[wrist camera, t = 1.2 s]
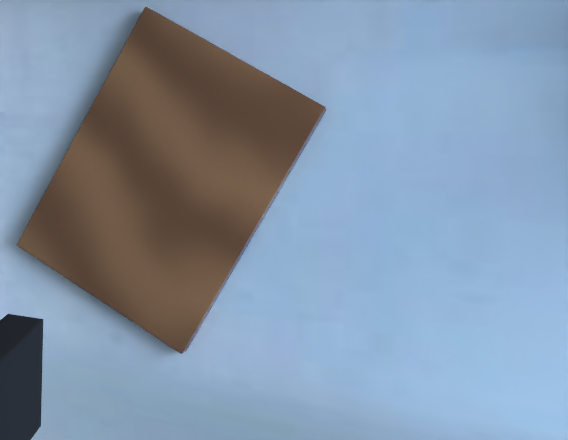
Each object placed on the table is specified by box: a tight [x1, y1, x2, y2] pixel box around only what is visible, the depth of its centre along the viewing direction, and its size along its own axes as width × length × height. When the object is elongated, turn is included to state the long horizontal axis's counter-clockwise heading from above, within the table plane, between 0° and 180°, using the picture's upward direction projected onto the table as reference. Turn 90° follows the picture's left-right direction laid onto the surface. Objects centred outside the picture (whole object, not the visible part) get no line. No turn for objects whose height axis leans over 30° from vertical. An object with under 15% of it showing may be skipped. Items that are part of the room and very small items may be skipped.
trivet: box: [17, 7, 326, 354], centre depth 38 cm, size 20×15×1 cm
